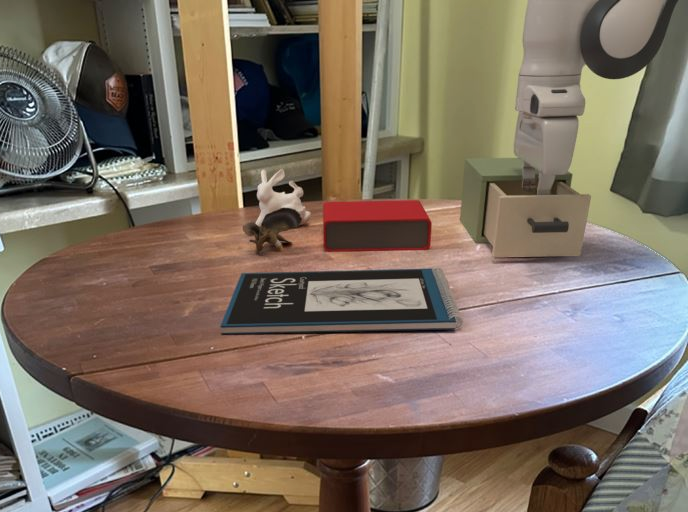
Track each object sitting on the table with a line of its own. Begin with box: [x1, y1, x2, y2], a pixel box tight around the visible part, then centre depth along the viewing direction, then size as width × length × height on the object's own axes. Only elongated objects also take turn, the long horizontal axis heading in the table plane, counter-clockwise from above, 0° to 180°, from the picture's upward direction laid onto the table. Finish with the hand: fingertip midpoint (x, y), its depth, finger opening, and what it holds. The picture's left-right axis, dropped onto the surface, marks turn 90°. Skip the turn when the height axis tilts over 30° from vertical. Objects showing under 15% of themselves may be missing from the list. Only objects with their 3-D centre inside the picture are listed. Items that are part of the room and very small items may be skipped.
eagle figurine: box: [241, 207, 302, 255], centre depth 118 cm, size 8×7×9 cm
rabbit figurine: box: [254, 168, 312, 227], centre depth 131 cm, size 12×8×10 cm, turn 95°
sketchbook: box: [219, 266, 464, 335], centre depth 95 cm, size 22×30×2 cm
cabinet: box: [459, 157, 573, 244], centre depth 124 cm, size 17×15×11 cm
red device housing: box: [322, 199, 433, 253], centre depth 122 cm, size 18×14×5 cm
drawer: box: [482, 180, 592, 258], centre depth 111 cm, size 21×14×9 cm, turn 0°
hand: (534, 196), depth 111 cm, fingers open, 7 cm apart
